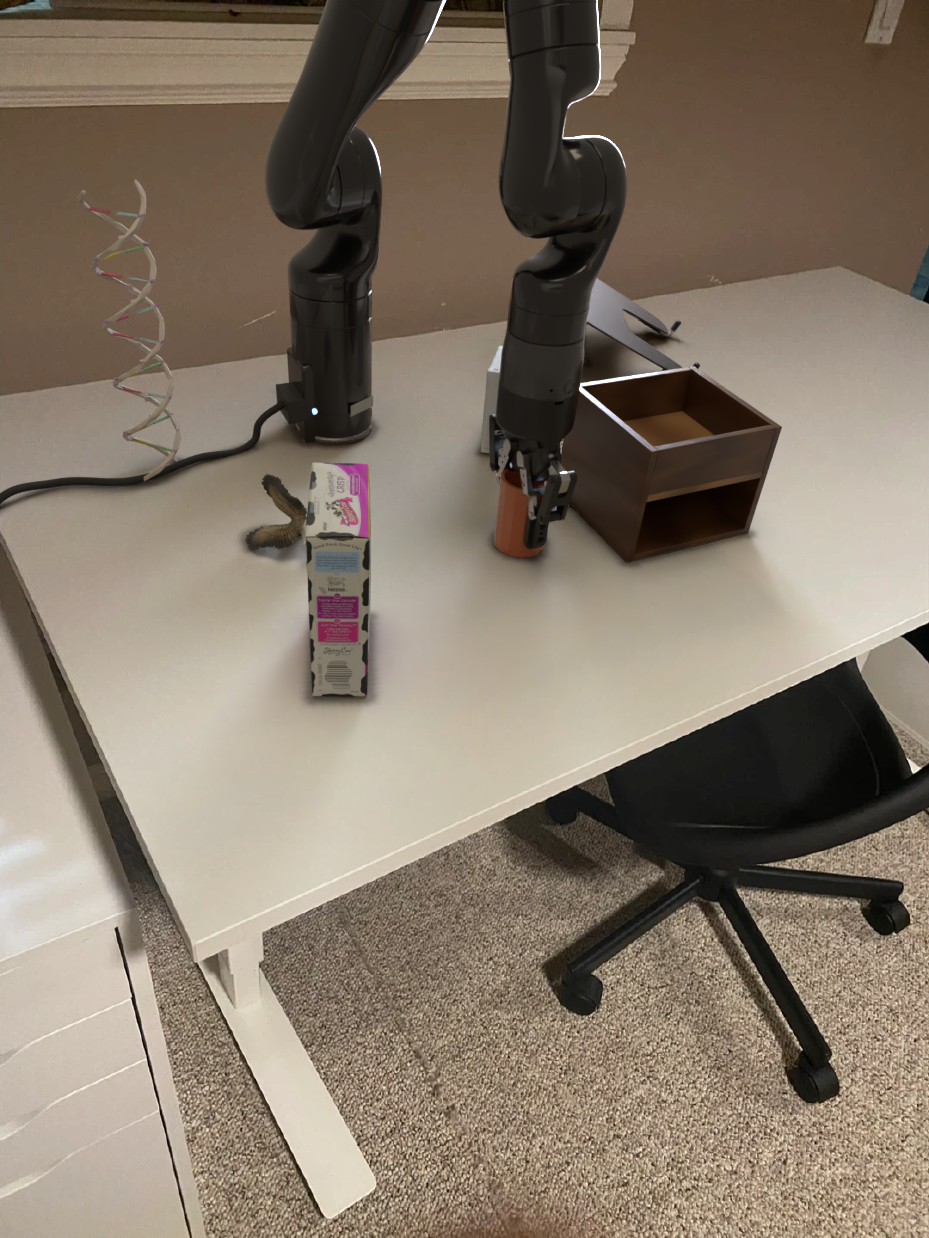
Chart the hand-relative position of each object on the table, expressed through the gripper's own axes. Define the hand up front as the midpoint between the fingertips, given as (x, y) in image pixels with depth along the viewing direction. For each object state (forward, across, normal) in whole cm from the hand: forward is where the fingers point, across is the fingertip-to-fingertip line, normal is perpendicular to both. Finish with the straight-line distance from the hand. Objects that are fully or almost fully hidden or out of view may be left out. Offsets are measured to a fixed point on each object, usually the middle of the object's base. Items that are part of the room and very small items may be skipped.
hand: (520, 530), depth 95 cm
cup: (+2, 0, 0) cm, 2 cm away
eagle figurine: (+2, -8, -22) cm, 23 cm away
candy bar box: (+2, +10, -23) cm, 25 cm away
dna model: (+2, -26, -32) cm, 41 cm away
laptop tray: (+2, -39, +37) cm, 54 cm away
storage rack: (+2, 0, +17) cm, 17 cm away
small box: (+2, -20, +9) cm, 22 cm away
